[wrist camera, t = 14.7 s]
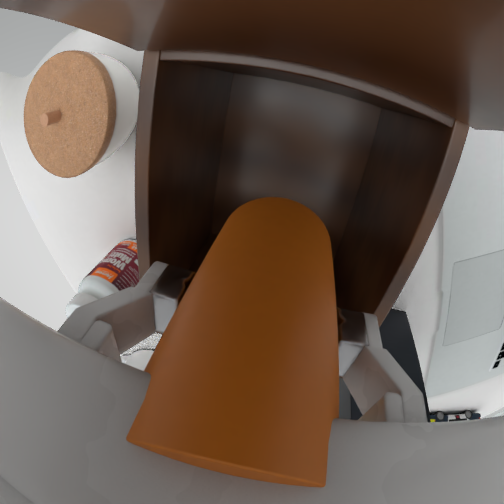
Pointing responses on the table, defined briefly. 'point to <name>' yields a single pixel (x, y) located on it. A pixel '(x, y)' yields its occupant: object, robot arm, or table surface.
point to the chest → (289, 163)
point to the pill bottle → (109, 275)
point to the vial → (251, 353)
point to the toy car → (454, 417)
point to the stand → (402, 350)
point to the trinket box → (79, 111)
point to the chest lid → (325, 40)
